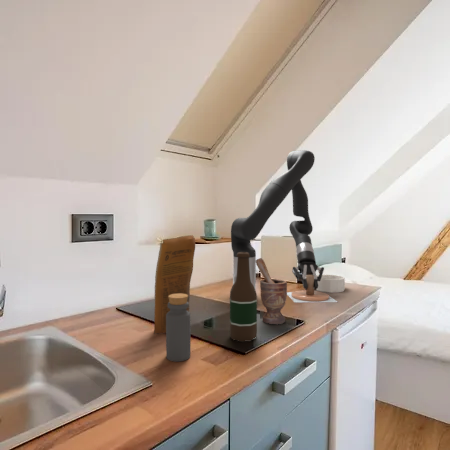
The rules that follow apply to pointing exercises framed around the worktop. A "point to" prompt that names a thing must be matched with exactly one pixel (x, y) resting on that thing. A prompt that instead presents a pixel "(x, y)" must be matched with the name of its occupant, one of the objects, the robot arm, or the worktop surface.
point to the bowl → (331, 283)
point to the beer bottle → (243, 302)
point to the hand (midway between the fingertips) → (311, 288)
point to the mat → (309, 301)
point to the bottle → (178, 328)
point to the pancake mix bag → (172, 275)
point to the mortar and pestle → (272, 295)
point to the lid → (310, 292)
